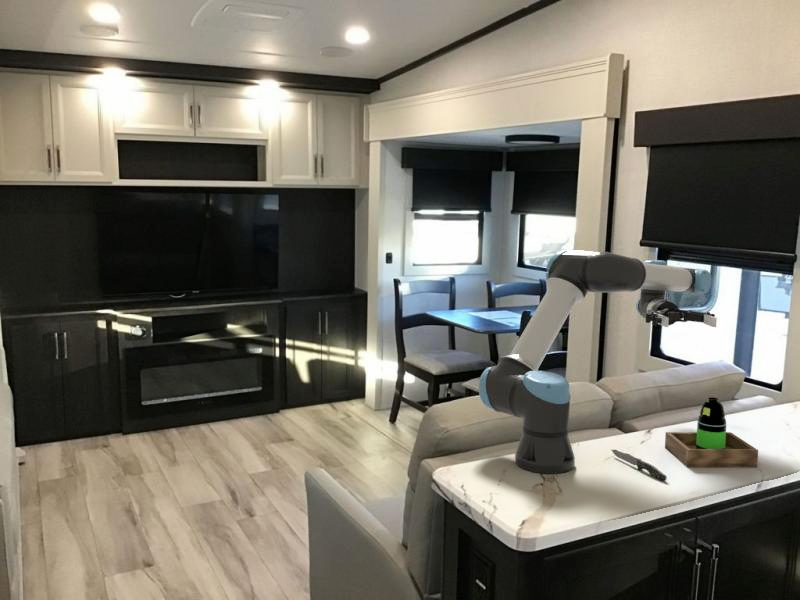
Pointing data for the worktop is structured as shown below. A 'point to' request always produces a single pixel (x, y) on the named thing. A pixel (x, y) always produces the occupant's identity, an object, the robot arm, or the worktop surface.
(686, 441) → the crate
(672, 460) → the worktop surface
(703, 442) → the bottle
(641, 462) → the knife
